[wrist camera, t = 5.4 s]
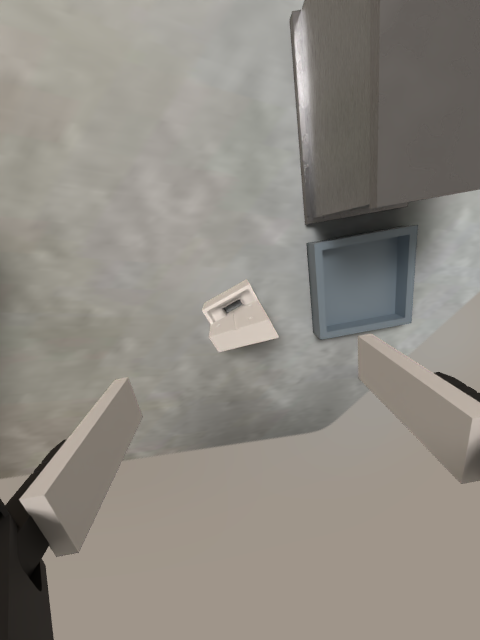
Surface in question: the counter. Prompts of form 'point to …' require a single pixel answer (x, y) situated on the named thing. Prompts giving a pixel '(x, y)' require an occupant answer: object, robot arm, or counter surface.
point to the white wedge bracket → (237, 319)
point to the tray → (362, 281)
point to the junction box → (385, 102)
